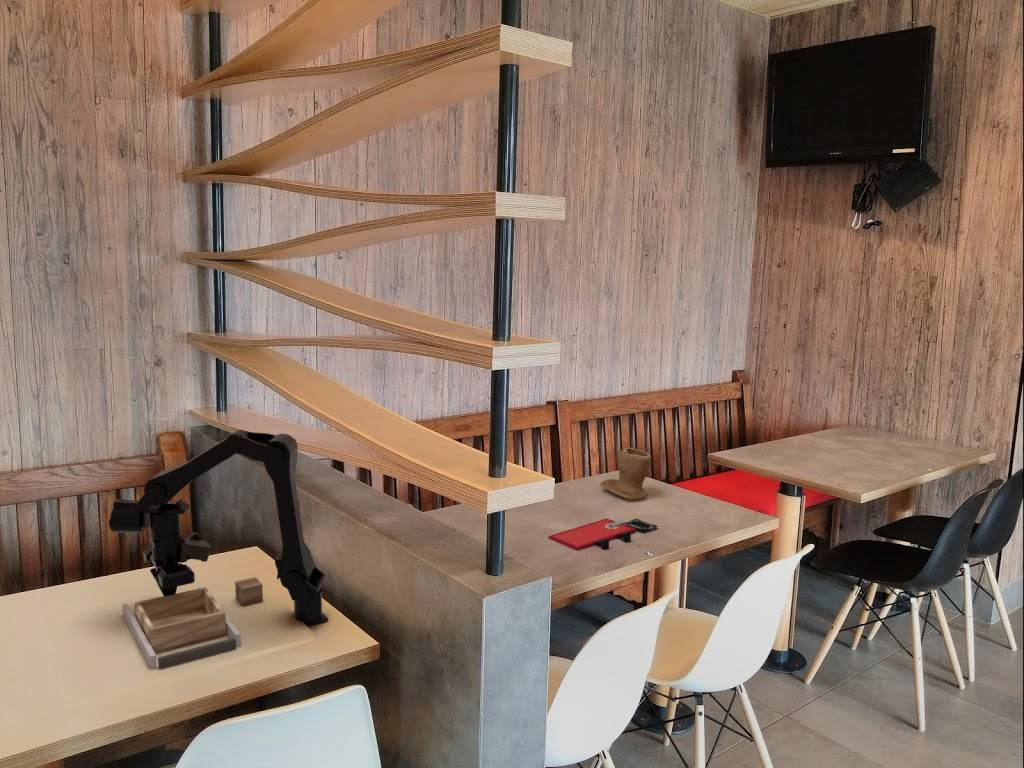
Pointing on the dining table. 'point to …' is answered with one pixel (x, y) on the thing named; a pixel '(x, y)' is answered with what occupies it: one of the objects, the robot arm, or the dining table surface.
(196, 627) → the crate
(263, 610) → the dining table surface
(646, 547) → the dining table surface
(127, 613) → the bay
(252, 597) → the block
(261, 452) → the robot arm
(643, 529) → the red board with handle
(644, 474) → the brown boot
